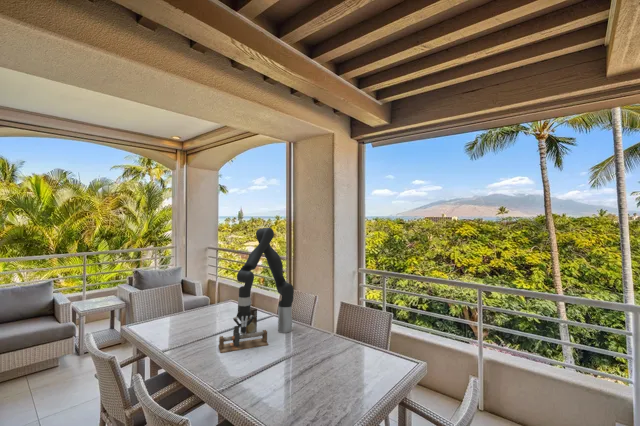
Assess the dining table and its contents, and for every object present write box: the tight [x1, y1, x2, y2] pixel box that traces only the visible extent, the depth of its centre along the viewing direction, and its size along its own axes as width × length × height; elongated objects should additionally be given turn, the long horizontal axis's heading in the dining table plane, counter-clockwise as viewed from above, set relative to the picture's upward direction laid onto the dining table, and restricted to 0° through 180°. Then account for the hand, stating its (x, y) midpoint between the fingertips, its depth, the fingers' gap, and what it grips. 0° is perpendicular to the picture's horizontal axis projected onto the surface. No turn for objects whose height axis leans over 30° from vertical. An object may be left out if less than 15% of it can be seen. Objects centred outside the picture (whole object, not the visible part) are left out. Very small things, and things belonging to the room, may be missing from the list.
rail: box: [217, 329, 269, 354], centre depth 172 cm, size 28×10×7 cm, turn 116°
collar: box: [232, 325, 241, 346], centre depth 170 cm, size 2×7×10 cm, turn 26°
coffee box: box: [239, 306, 258, 335], centre depth 192 cm, size 9×6×16 cm
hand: (243, 332), depth 172 cm, fingers closed
